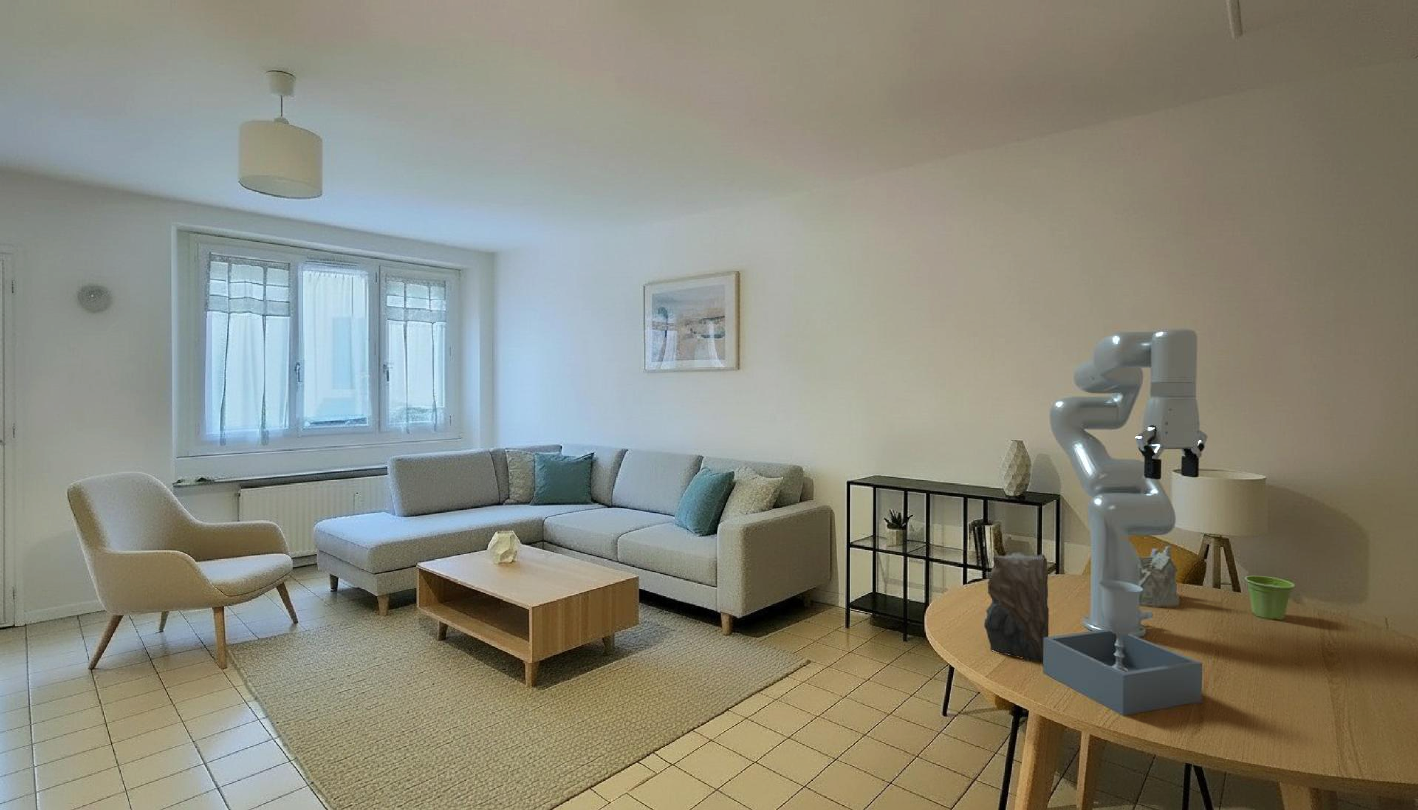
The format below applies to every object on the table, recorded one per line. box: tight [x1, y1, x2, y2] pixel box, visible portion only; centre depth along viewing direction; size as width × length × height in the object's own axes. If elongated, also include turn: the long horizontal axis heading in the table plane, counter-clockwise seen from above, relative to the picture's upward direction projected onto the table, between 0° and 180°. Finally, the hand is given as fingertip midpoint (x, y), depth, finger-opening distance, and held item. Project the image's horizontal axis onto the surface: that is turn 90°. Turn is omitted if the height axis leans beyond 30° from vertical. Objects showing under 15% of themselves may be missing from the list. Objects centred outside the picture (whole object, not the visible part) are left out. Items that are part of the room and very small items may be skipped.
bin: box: [1042, 629, 1203, 716], centre depth 127 cm, size 18×18×7 cm
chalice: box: [1100, 580, 1143, 672], centre depth 127 cm, size 7×7×18 cm
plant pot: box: [1244, 575, 1295, 621], centre depth 165 cm, size 9×9×9 cm
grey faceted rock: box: [983, 551, 1050, 663], centre depth 145 cm, size 13×13×20 cm
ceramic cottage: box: [1139, 545, 1181, 608], centre depth 180 cm, size 16×16×15 cm
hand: (1171, 477), depth 134 cm, fingers open, 9 cm apart
